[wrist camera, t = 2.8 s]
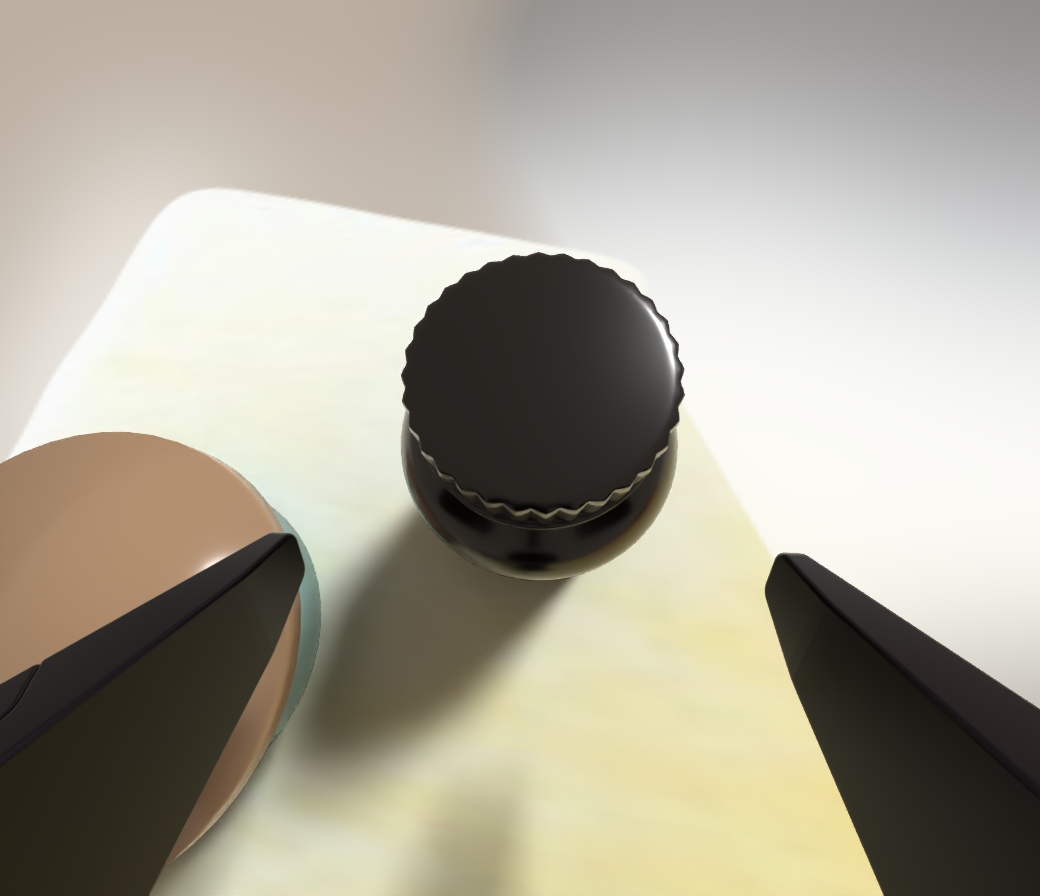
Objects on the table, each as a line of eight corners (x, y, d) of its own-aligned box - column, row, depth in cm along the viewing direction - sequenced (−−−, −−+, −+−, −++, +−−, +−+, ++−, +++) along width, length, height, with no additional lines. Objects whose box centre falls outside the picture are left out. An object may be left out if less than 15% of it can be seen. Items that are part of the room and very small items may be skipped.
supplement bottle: (466, 591, 18) (338, 620, 6) (447, 432, 20) (320, 232, 8) (635, 563, 18) (810, 541, 6) (599, 406, 20) (685, 173, 8)
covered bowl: (239, 912, 15) (122, 1046, 11) (-78, 752, 17) (-288, 813, 13) (400, 523, 19) (359, 507, 14) (123, 423, 21) (12, 383, 16)
